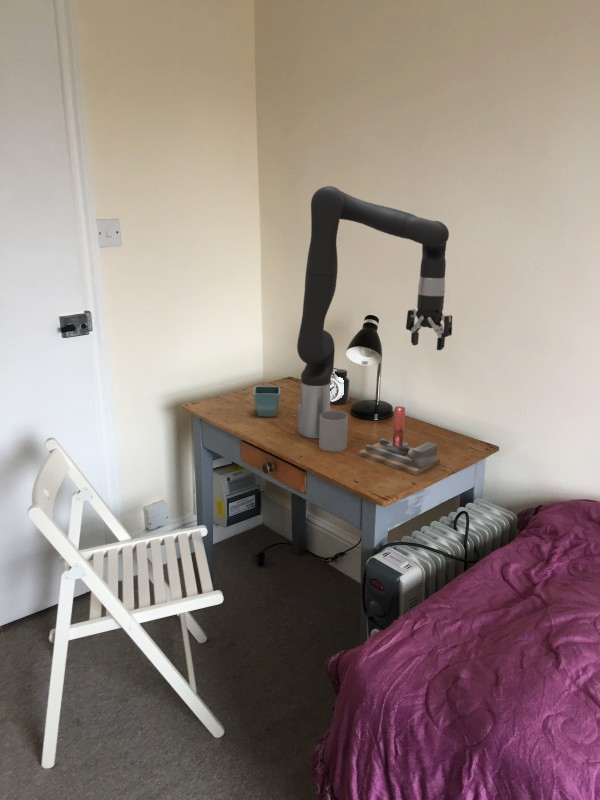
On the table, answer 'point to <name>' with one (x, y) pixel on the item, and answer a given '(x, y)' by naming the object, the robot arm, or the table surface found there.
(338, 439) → the cup
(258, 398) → the flower pot
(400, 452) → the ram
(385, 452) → the machine vise
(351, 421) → the table surface
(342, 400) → the supplement bottle
